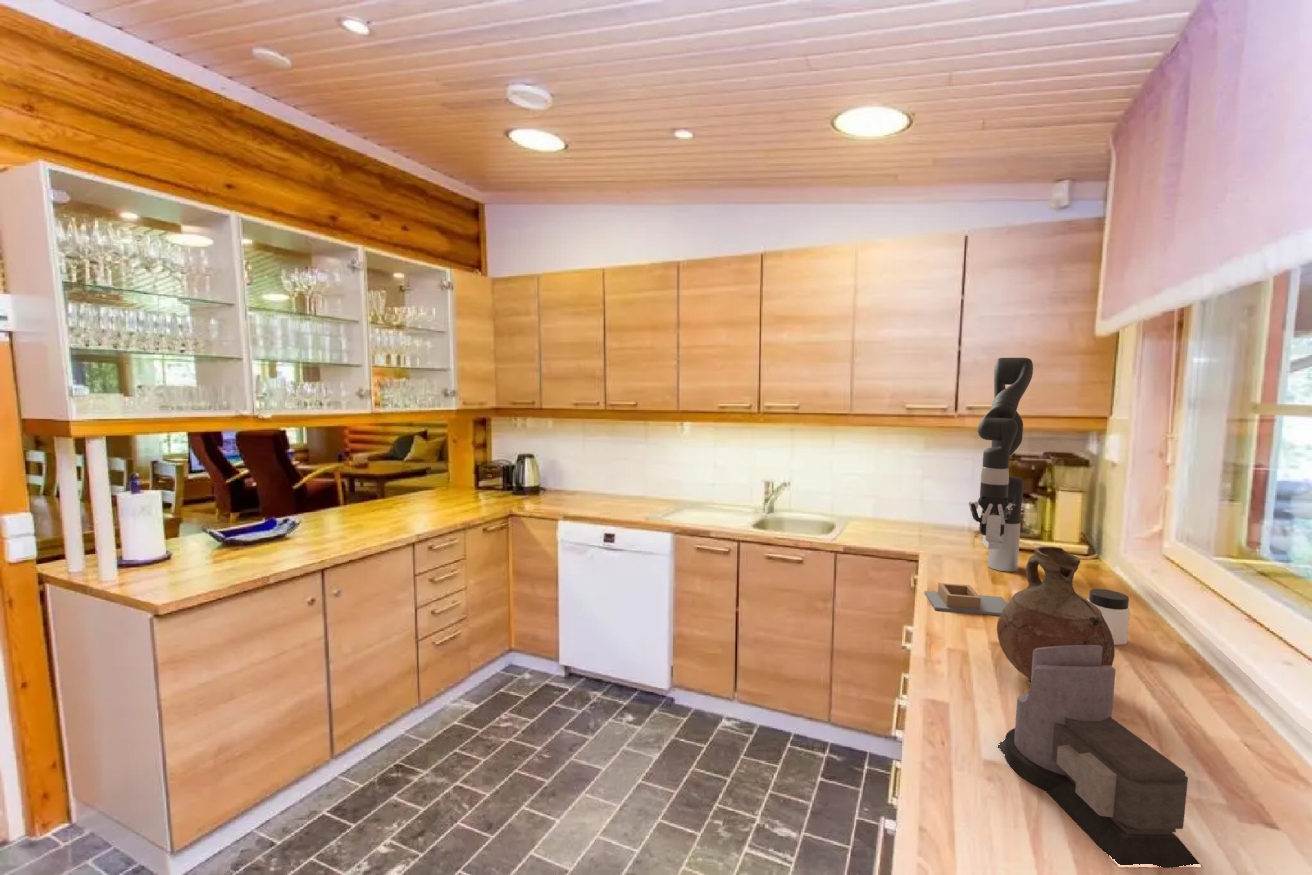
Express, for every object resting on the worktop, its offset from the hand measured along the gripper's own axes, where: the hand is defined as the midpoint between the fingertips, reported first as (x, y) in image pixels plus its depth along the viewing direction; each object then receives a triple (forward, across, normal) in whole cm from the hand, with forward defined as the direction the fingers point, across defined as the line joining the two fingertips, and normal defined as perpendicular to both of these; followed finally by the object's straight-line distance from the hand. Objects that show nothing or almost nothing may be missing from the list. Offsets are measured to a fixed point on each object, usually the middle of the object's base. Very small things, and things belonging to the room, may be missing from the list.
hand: (991, 534), depth 184 cm
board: (+18, +9, +13) cm, 24 cm away
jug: (+18, +5, +59) cm, 62 cm away
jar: (+19, -19, +30) cm, 40 cm away
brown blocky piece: (+18, +14, +97) cm, 100 cm away
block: (+3, 0, +2) cm, 4 cm away
